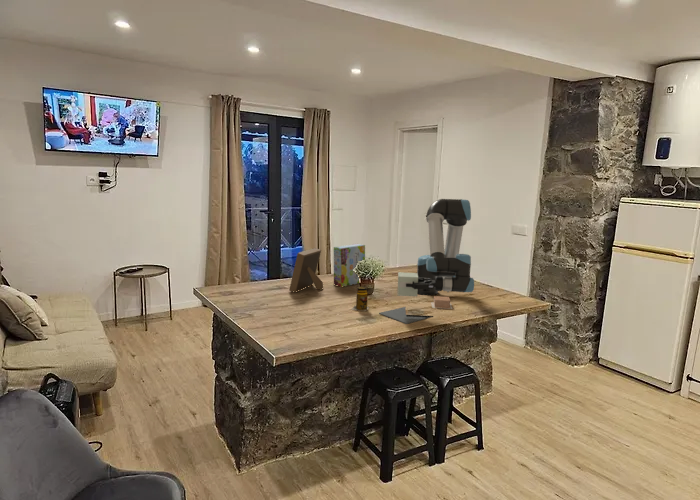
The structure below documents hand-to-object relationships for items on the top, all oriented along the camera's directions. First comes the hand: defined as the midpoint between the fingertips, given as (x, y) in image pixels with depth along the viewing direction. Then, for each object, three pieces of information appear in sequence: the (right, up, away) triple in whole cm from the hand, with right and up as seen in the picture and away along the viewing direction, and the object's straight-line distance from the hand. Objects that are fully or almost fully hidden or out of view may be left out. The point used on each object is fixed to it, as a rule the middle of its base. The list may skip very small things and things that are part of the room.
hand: (399, 281), depth 240 cm
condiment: (-20, -16, +13) cm, 28 cm away
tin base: (+25, -16, +17) cm, 34 cm away
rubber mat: (+4, -18, +3) cm, 18 cm away
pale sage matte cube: (+4, -6, +1) cm, 7 cm away
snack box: (-26, -6, +67) cm, 73 cm away
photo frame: (-51, -9, +50) cm, 72 cm away
